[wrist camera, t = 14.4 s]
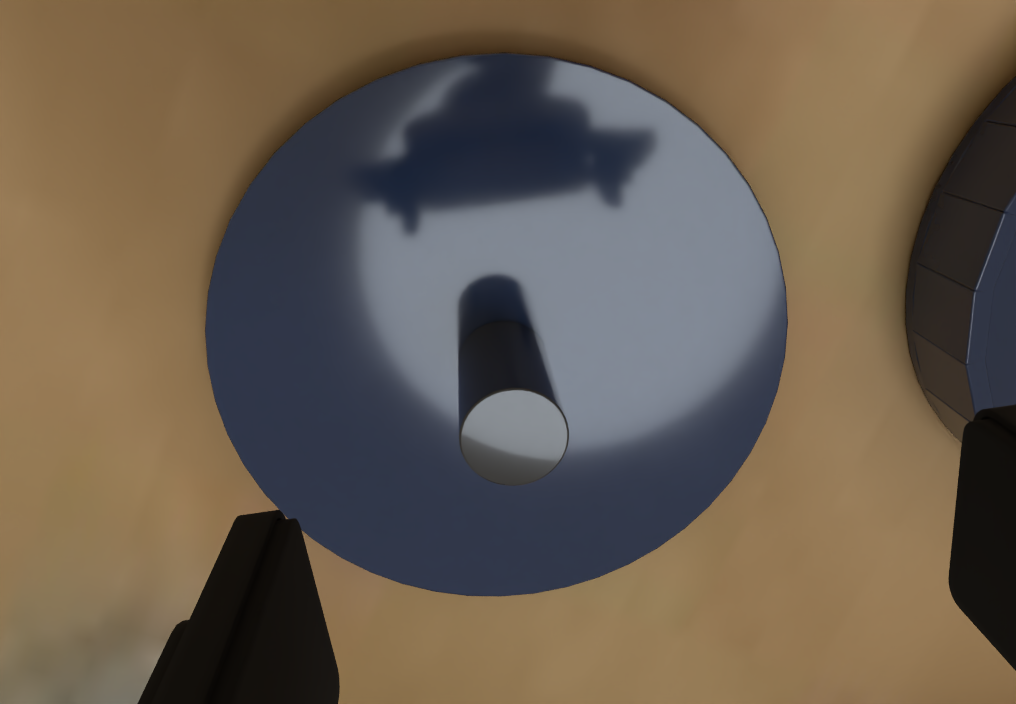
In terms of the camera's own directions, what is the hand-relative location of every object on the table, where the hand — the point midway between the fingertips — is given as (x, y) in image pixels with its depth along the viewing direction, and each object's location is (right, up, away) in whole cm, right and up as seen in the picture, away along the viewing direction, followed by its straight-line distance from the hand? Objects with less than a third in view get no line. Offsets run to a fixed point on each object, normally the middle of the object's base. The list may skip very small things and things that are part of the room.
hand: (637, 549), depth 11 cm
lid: (-2, +3, +14) cm, 14 cm away
